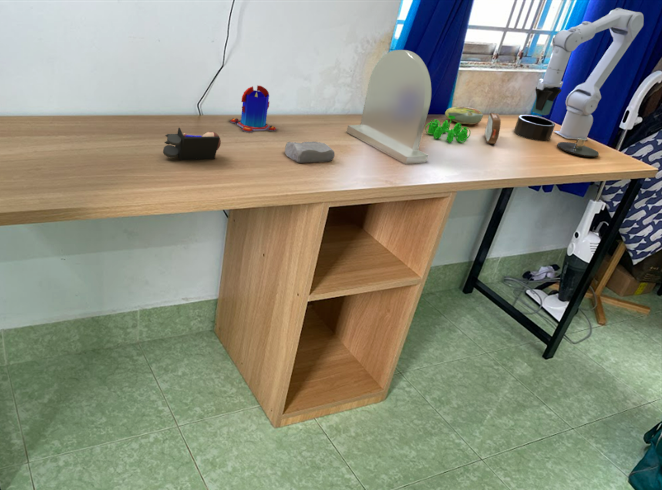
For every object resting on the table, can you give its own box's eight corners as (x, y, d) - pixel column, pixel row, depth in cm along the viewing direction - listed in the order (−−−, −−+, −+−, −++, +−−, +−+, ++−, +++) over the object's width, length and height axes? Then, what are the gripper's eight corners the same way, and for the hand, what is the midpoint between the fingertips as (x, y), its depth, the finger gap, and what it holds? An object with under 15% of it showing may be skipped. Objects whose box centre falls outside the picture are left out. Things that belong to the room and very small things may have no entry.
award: (427, 162, 180) (453, 63, 165) (405, 164, 175) (430, 63, 161) (367, 131, 199) (386, 40, 184) (346, 132, 194) (364, 39, 180)
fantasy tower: (244, 132, 180) (249, 91, 174) (227, 120, 188) (230, 79, 182) (279, 131, 186) (284, 90, 179) (260, 119, 194) (265, 80, 188)
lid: (579, 145, 219) (585, 133, 216) (606, 159, 208) (611, 146, 206) (548, 144, 215) (553, 131, 212) (573, 158, 204) (578, 144, 202)
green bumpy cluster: (451, 147, 196) (457, 125, 192) (414, 132, 205) (420, 111, 201) (477, 142, 205) (483, 121, 201) (440, 128, 214) (446, 108, 210)
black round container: (537, 130, 229) (542, 116, 226) (556, 142, 219) (562, 127, 216) (507, 128, 226) (512, 113, 223) (525, 139, 216) (531, 124, 213)
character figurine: (160, 155, 156) (215, 154, 162) (168, 163, 150) (225, 162, 157) (160, 124, 152) (217, 124, 159) (168, 131, 147) (227, 131, 153)
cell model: (437, 110, 225) (471, 95, 228) (441, 130, 228) (474, 116, 231) (455, 113, 215) (490, 97, 218) (459, 134, 219) (493, 119, 222)
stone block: (280, 158, 171) (298, 163, 162) (281, 140, 169) (299, 145, 161) (316, 157, 176) (335, 163, 168) (318, 140, 174) (337, 145, 166)
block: (537, 110, 219) (542, 98, 217) (548, 114, 217) (553, 101, 214) (531, 111, 217) (536, 99, 214) (543, 115, 214) (547, 102, 212)
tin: (495, 147, 202) (503, 122, 198) (485, 145, 203) (493, 120, 198) (491, 135, 215) (498, 111, 211) (482, 133, 215) (489, 109, 211)
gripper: (554, 65, 216) (541, 104, 223) (535, 66, 207) (521, 107, 214) (573, 70, 212) (559, 109, 219) (554, 72, 203) (539, 113, 210)
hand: (541, 109), depth 216 cm, fingers closed on block, 4 cm apart
